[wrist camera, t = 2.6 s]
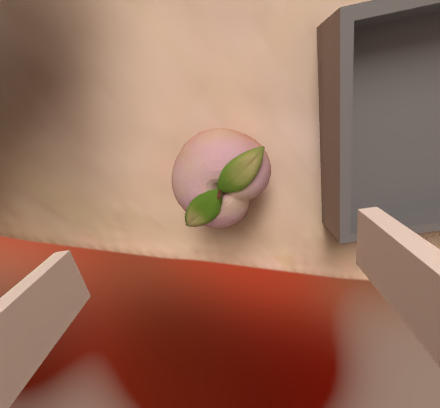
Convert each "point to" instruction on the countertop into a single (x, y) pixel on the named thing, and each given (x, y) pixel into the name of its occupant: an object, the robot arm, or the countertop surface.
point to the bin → (380, 114)
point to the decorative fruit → (219, 177)
